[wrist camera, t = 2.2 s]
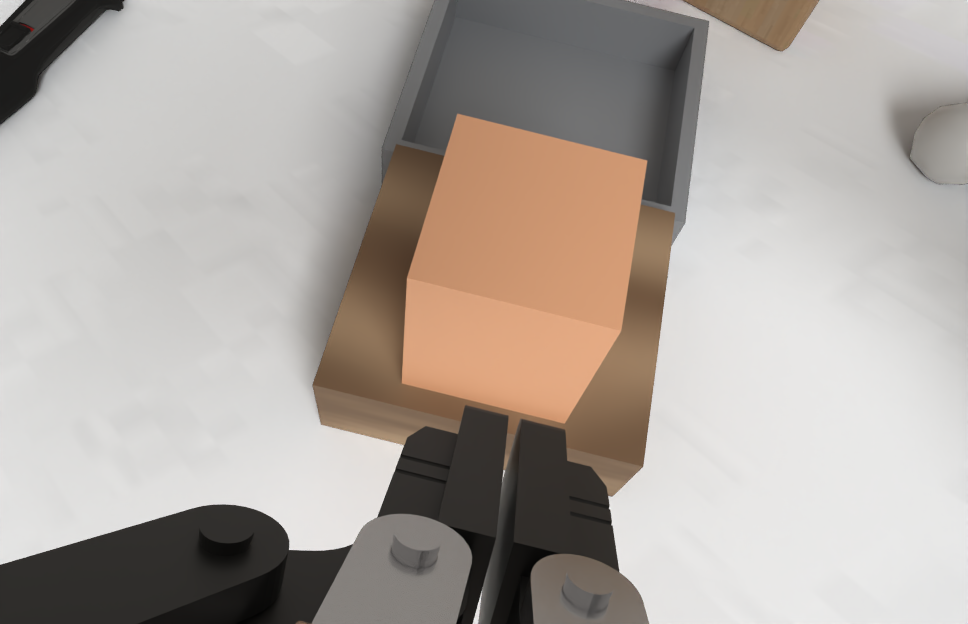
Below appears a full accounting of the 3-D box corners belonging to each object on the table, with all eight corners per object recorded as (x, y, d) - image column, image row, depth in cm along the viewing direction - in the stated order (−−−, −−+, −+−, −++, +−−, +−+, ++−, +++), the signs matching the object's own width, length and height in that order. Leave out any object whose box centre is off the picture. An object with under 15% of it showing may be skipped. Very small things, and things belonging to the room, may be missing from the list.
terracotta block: (564, 423, 33) (621, 330, 25) (401, 383, 33) (407, 277, 25) (589, 282, 37) (647, 160, 29) (441, 245, 37) (457, 113, 29)
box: (660, 263, 43) (685, 223, 40) (382, 194, 43) (381, 148, 40) (686, 70, 50) (709, 21, 47) (445, 10, 50) (449, -43, 47)
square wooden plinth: (612, 496, 37) (643, 466, 33) (321, 424, 37) (312, 384, 33) (645, 264, 43) (675, 212, 39) (394, 202, 43) (396, 143, 39)
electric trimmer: (-106, 166, 42) (-142, 127, 39) (81, -18, 48) (61, -63, 46) (-44, 195, 41) (-76, 157, 38) (135, 5, 48) (118, -39, 45)
